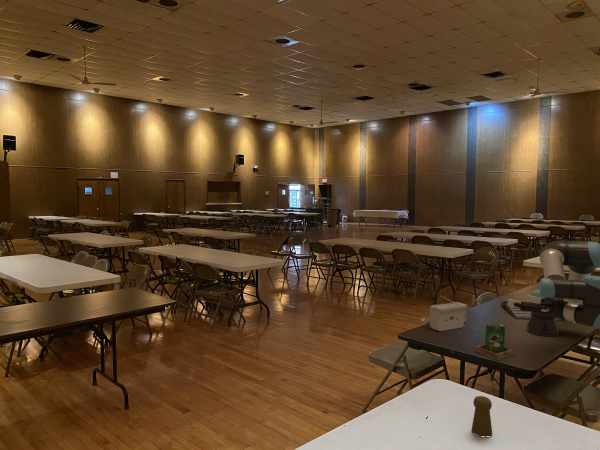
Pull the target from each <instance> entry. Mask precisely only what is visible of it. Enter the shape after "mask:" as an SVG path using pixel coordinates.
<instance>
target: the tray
mask: <svg viewBox="0 0 600 450" xmlns="http://www.w3.org/2000/svg"><path fill="white" fill-rule="evenodd" d="M474 353H477V354H479V355H481V356H484V357H488V358H490V359H493V360H497V361H501V360H503V359H507V358H510V357H513V356H515V349H513V348H509V347H506V346H504V352H501V353H494V352H491V351H488V350H486V349H485V343H484V344H481V345H477V346H474Z"/></svg>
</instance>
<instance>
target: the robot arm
mask: <svg viewBox="0 0 600 450" xmlns="http://www.w3.org/2000/svg"><path fill="white" fill-rule="evenodd" d="M539 261H540V264H541V265H542V268H543V277H542V278H540V280H539V289H535V290H532V292H531V295H529V294H527V295H526V302H531V304H528V303H523V302H524V301H523V300H522V301H519V300H514V299H510V298H508V299H507V301H508V306H512V307H516V308H520V310H521V311H530V312H531V318H530V320H529V321H528V322H527V325H526V331H527V332H528V333H529V334H532V335H536V336H541V337H542V336H543V337H557V336H560V329H559V326H558V323H557V321H556V318H558V319H562V320H567V321H566V322H571V323H572V324H575V325H576V324H579V325H584V326H586V327H587V326H588V327H592V328H594V329H600V275H599V276H598V275H592V273H594V272H595V271H596V269H600V243H599V242H595V241H589V240H588V241H584V240H583V241H580V240H578V241H577V240H556V241H553V242H550V243H549V244H547V245H545V246H544V247H543V248H542V250H541V251H540V252H539ZM564 267H568V269H569V274H568V278H567V279H566V275H565V268H564Z"/></svg>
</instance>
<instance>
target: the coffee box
mask: <svg viewBox="0 0 600 450" xmlns="http://www.w3.org/2000/svg"><path fill="white" fill-rule="evenodd" d="M505 336H506V326H505V325H504V324H496V323H495V324H494V323H486V324H485V339H484V340H485V342H484V344H485V349H486V350H488V351H491V352H494V353H501V352H504V347H505Z"/></svg>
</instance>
